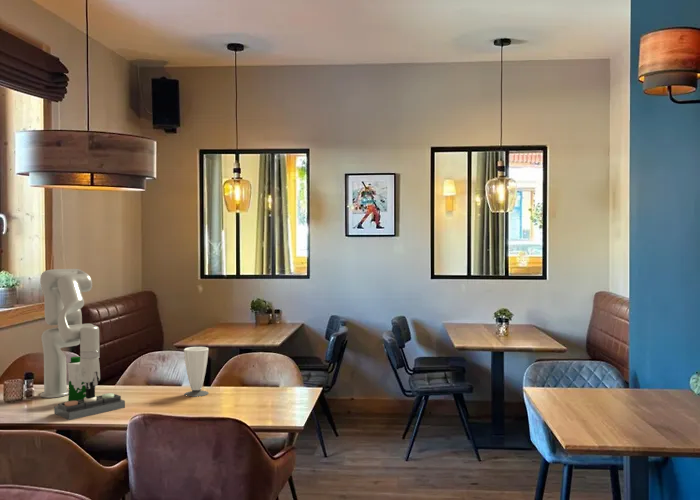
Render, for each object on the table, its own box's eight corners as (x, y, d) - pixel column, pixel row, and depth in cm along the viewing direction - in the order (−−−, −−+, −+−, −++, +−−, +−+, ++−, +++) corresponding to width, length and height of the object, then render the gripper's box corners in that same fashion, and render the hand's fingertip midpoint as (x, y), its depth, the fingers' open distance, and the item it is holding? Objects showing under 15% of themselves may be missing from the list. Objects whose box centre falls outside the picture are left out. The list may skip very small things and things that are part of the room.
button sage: (99, 399, 259) (99, 394, 259) (110, 397, 262) (110, 392, 262) (105, 401, 255) (105, 396, 255) (116, 399, 259) (116, 394, 259)
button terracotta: (62, 407, 246) (62, 402, 246) (74, 404, 250) (74, 399, 250) (68, 409, 243) (67, 404, 243) (80, 406, 247) (80, 401, 247)
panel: (54, 413, 248) (54, 402, 248) (109, 402, 266) (109, 391, 266) (69, 420, 239) (69, 408, 239) (124, 407, 257) (124, 397, 257)
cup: (213, 393, 282) (213, 347, 282) (195, 398, 273) (195, 351, 272) (197, 389, 289) (196, 345, 288) (178, 394, 279) (178, 349, 279)
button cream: (81, 402, 252) (81, 397, 252) (93, 400, 256) (93, 395, 256) (87, 404, 249) (87, 399, 249) (98, 401, 253) (98, 397, 253)
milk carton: (77, 398, 273) (77, 355, 273) (95, 399, 271) (94, 356, 271) (64, 403, 264) (64, 359, 264) (82, 404, 262) (82, 359, 262)
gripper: (73, 354, 254) (73, 396, 255) (89, 358, 245) (90, 402, 245) (90, 351, 260) (90, 393, 260) (107, 355, 250) (107, 398, 251)
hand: (90, 397), depth 253 cm, fingers closed
